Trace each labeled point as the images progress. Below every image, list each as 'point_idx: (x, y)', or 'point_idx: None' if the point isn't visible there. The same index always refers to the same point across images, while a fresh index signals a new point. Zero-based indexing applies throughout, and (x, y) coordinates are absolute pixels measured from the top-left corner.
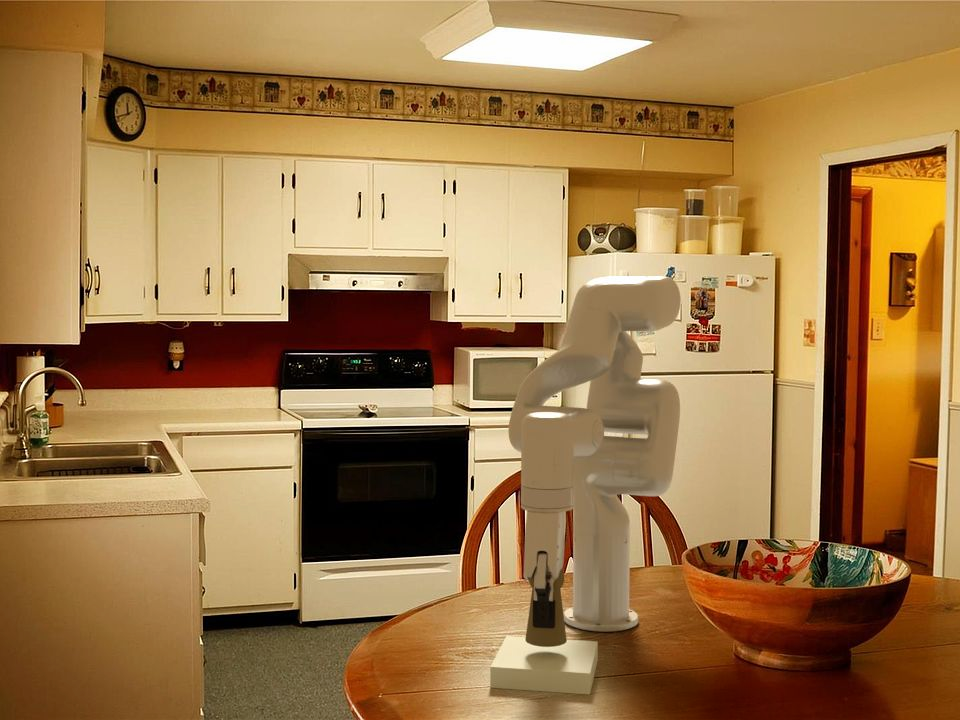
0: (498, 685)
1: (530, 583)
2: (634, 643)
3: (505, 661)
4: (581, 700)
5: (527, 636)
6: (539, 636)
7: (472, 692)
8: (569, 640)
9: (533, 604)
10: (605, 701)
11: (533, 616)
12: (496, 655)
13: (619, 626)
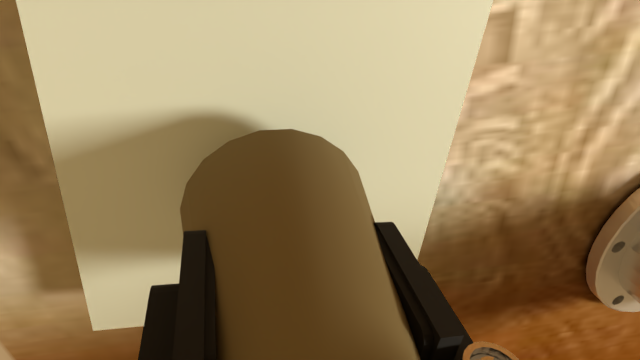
0: None
1: None
2: (501, 310)
3: (122, 24)
4: (51, 266)
5: (232, 157)
6: (186, 226)
7: None
8: (417, 233)
9: (176, 340)
10: (71, 316)
11: (182, 272)
12: None
13: (593, 285)
